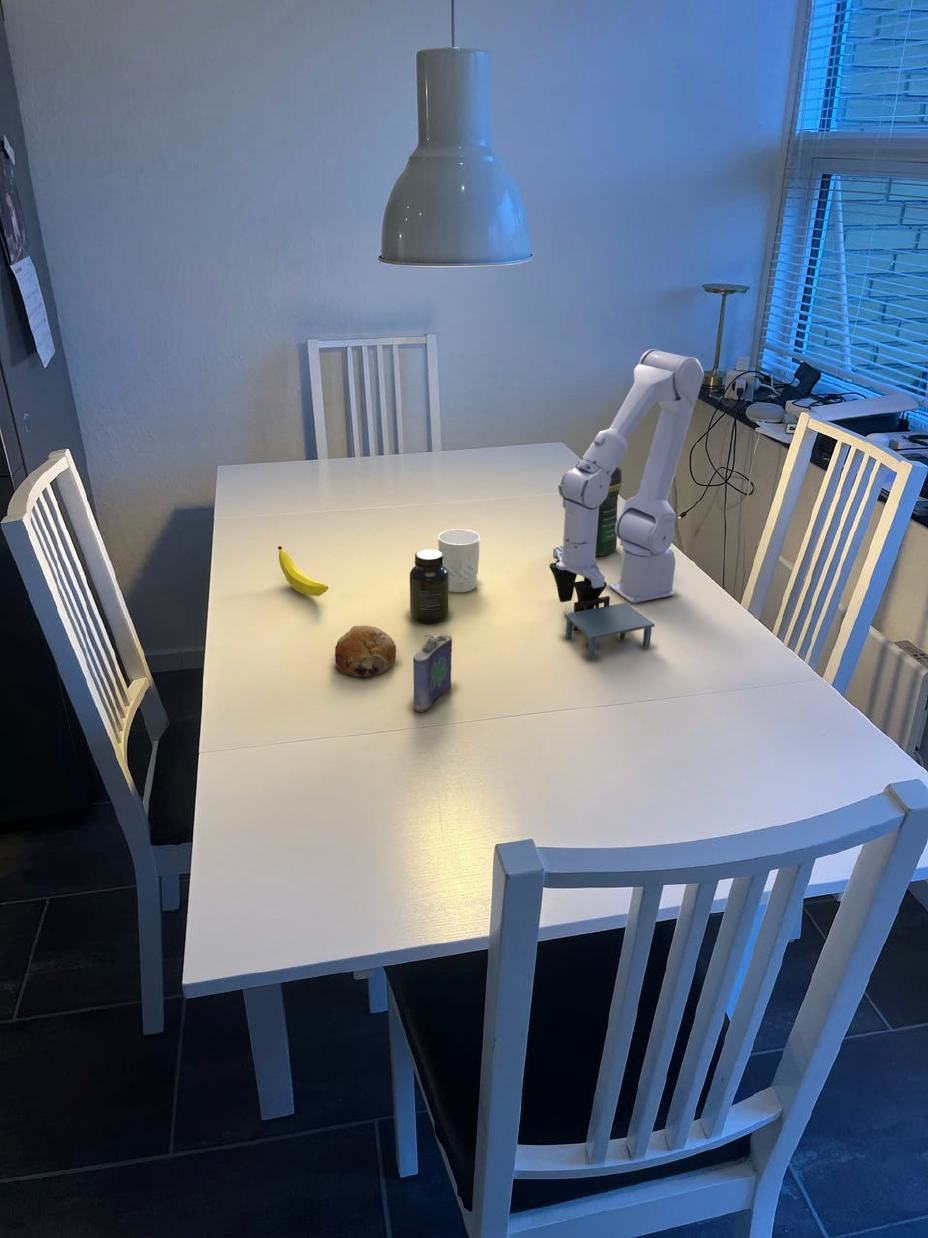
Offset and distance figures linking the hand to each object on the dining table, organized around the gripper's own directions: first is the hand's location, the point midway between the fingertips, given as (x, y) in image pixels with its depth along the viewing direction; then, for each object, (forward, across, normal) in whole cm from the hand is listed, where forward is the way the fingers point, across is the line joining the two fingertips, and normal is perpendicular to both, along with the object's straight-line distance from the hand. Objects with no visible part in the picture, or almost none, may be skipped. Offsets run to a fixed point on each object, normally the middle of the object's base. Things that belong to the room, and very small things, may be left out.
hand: (575, 608), depth 170 cm
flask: (+2, +16, -34) cm, 38 cm away
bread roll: (+2, +2, -40) cm, 40 cm away
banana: (+2, -28, -42) cm, 51 cm away
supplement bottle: (+2, -10, -24) cm, 26 cm away
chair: (+1, +8, 0) cm, 8 cm away
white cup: (+2, -20, -14) cm, 24 cm away
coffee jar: (+2, -26, +19) cm, 32 cm away
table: (+1, +11, 0) cm, 11 cm away
